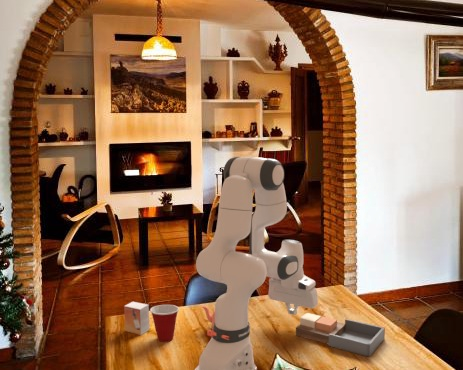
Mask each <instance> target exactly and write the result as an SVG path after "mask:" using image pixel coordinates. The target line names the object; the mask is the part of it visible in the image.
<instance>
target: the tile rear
mask: <svg viewBox="0 0 463 370" xmlns="http://www.w3.org/2000/svg"><path fill="white" fill-rule="evenodd" d="M321 317H322V315H318V314H315V313H309V312H306V313H305V314H303V315H302V316H301V317H300V318H299V325H304V326H308V327H312V328H315V327H316V321H318V320H319V319H320V318H321Z"/></svg>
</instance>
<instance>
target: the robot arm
mask: <svg viewBox="0 0 463 370" xmlns="http://www.w3.org/2000/svg"><path fill="white" fill-rule="evenodd" d="M223 179H224V181H223V183H222V188H221V191H220V195H219V196H220V197H219V201H218V202H219V203H218V213H217V222H216V229H215V232H214V234H213V235H214V236H213V237H212V239H211V241H210V243H209V244H208V246H206V247H205V248H203V250H201V251H200V252H199V254H198V255H197V257H196V260H195V262H196V263H195V268H196V272H197V273H198V274H199V275H200V276H201V277H203V278H204V279H207V280H209V281H211V282H215V283H220V284H225V285H226V288H227V289H226V292H225V293H223V294H220V295H219V297H218V298H217V299H216V300H215V301H214V309H215V323H214V327H213V331H212V329H208V330H207V332H206V335H207V336H208V337H211V338H210V340H209V341H208V343H207V345H206V346H205V348H204V349H203V351H202V353H201V354H200V356H199V360H198V365H197V366H196V367H195V369H194V370H258V368H257V367H258V366H257V365H256V364H255V361H254V350H253V345H252V344H253V343H252V342H251V339H250V334H251V332H250V331H251V326H250V322H249V304H250V299H251V296H252V294H253V293H254V292H255V290H257V289H259V288H260V287H261V286H263V284H264V283H265V280H267V279H266V278H267V277H268V278H269V279H268V285H269V287H268V298H269V300H272V301H278V302H281V303H285V307H286V308H287V313H288V315H289V314H290V315H293V316H295V315H297V311H298V309H299V308H300V307H302V308H303V307H304V308H306V309H307V308H308V309H311V310H312V309H314V308H316V306H318V300H319V298H318V291H317V288H316V287H315V286H316V281H315V280H314V279H312V278H310V277H308V276H306V275H305V274H304V273H305V272H304V268H303V267H304V266H303V265H304V249H303V244H302V242H301V241H298V240H295V239H283V240H282V242H281V247H280V249H279V250H278V251H276V252H275V251H271V250H268V249H266V248H265V229H266V228H267V227H269V226H273V225H275V224H277V223H280V222H281V221H282V220H283V219H284V218H285V217H286V214H287V209H288V203H287V196H286V190H285V185H284V180H285V169H284V166H283V165H282V163H281V162H280V161H279V160H277V159H275V158H264V157H257V156H233V157H231V158H229V159H227V161H226V163H225V164H224V167H223ZM253 191H254V195H253ZM253 197H254V198H255V199H253ZM254 200H255V210H254V211H253V205H254V204H253V203H254V202H253V201H254ZM248 236H249V247H248V248H249V250H248V251H249V252H248V253H245V252H242V251H236V250H237V249H236V248H237V245H238V243H239V242H240V241H242V240H244V239H246V238H248ZM292 305H293V308H292Z"/></svg>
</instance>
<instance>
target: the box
mask: <svg viewBox="0 0 463 370" xmlns="http://www.w3.org/2000/svg"><path fill="white" fill-rule="evenodd" d="M344 324H346V330H345V331H344V332H343V333H342V334H341V335H340V336H338V335H334V334H329V344H328V347H330V346H331V348H334V347H335V349H337V348H338V349H337V350H341V349H342V351H345V352H350V353H353V354H356V355H360V356H363V355H364V356H363V357H367V358H370V357H371V356H372V355H373V354H374V352H376V350H377V349H378V348H377V347H380V346H381V344H382V343H383V342H384V341H385V340H386V339H385V338H386V337H385V331H386V328H385V327H383V326H379V325H374V324H370V323H366V322H362V321H358V320H354V319H353V320H352V319H348V318H345V319H344ZM382 341H383V342H382ZM381 342H382V343H381Z"/></svg>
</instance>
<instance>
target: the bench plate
mask: <svg viewBox="0 0 463 370" xmlns="http://www.w3.org/2000/svg"><path fill="white" fill-rule="evenodd" d="M345 330H346V324H345V323H343V322H339V321H337V327H336V328H335V329H333V330H332V331H331V332H328V331H324V330H320V329H316V327H315V328H312V327H308V326H304V325H300V324H299V325H297V326H296V327H295V336H298V337H301V338H306V339H309V340H312V341H316V342H319V343H323V344H327V343H328V344H327V345H329V334H334V335H338V336H340V335H341V334H342V333H343V332H344V331H345Z"/></svg>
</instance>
